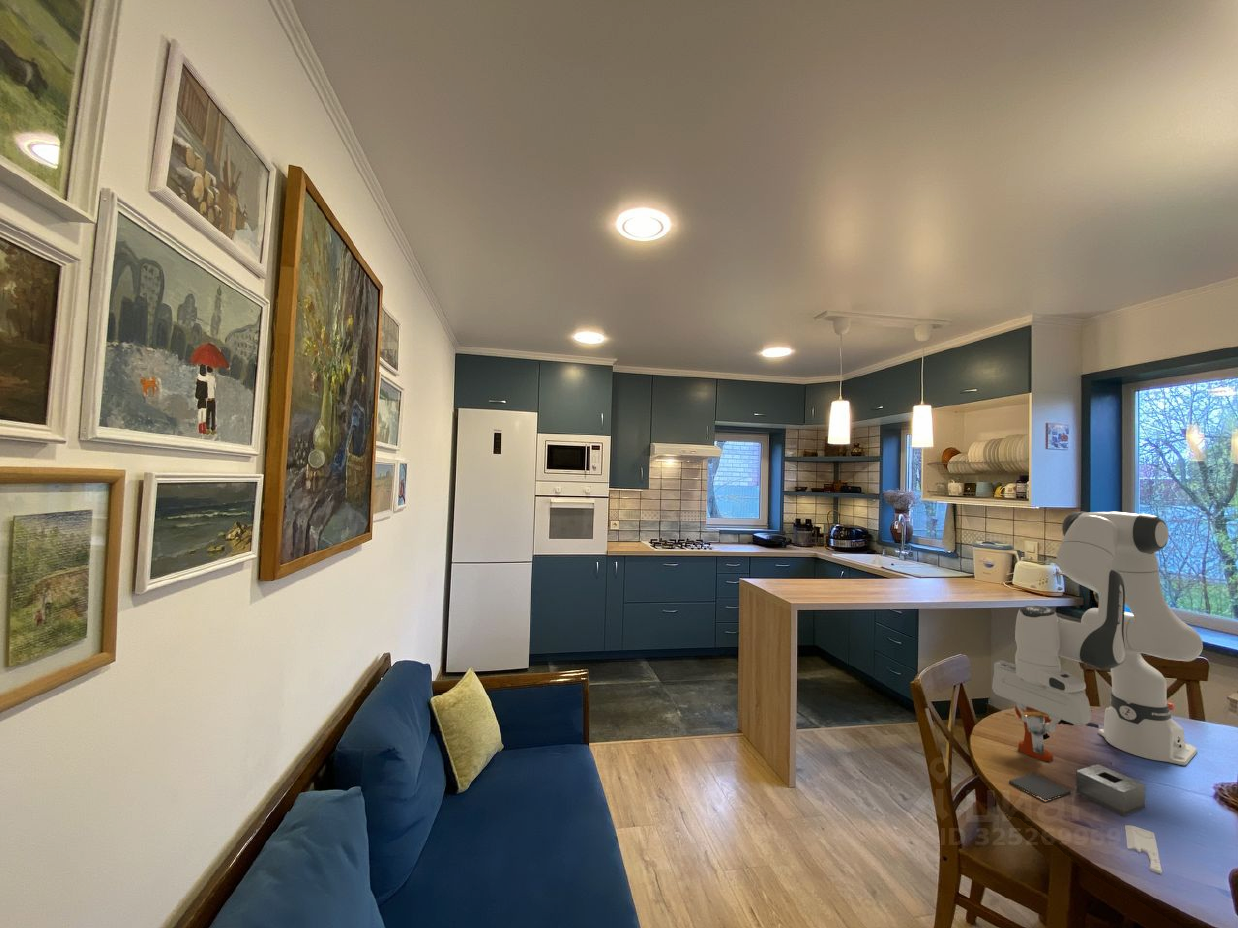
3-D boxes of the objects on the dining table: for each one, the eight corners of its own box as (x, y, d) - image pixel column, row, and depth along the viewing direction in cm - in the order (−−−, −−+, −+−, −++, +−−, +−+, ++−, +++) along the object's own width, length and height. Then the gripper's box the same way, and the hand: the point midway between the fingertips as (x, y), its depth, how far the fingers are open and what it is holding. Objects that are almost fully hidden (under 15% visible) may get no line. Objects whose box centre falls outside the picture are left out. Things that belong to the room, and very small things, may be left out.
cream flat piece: (1125, 862, 102) (1125, 856, 102) (1122, 826, 112) (1122, 821, 112) (1162, 875, 98) (1162, 870, 98) (1155, 837, 109) (1154, 832, 109)
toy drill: (1105, 778, 127) (1093, 716, 129) (1016, 753, 143) (1007, 699, 145) (1110, 772, 130) (1099, 712, 132) (1022, 748, 145) (1014, 695, 147)
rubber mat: (1033, 775, 131) (1033, 772, 131) (1070, 793, 123) (1070, 790, 123) (1009, 782, 127) (1009, 780, 127) (1045, 801, 120) (1045, 799, 120)
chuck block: (1097, 785, 127) (1097, 763, 127) (1145, 807, 118) (1144, 784, 118) (1076, 793, 123) (1076, 770, 124) (1123, 816, 115) (1123, 792, 115)
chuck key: (1022, 747, 128) (1018, 707, 128) (1047, 748, 126) (1043, 708, 127) (1029, 754, 124) (1025, 713, 125) (1056, 756, 123) (1052, 715, 123)
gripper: (986, 659, 135) (986, 710, 134) (1078, 689, 116) (1078, 749, 115) (1001, 656, 137) (1002, 707, 137) (1094, 685, 118) (1095, 744, 117)
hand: (1038, 726), depth 126 cm, fingers closed on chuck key, 4 cm apart
